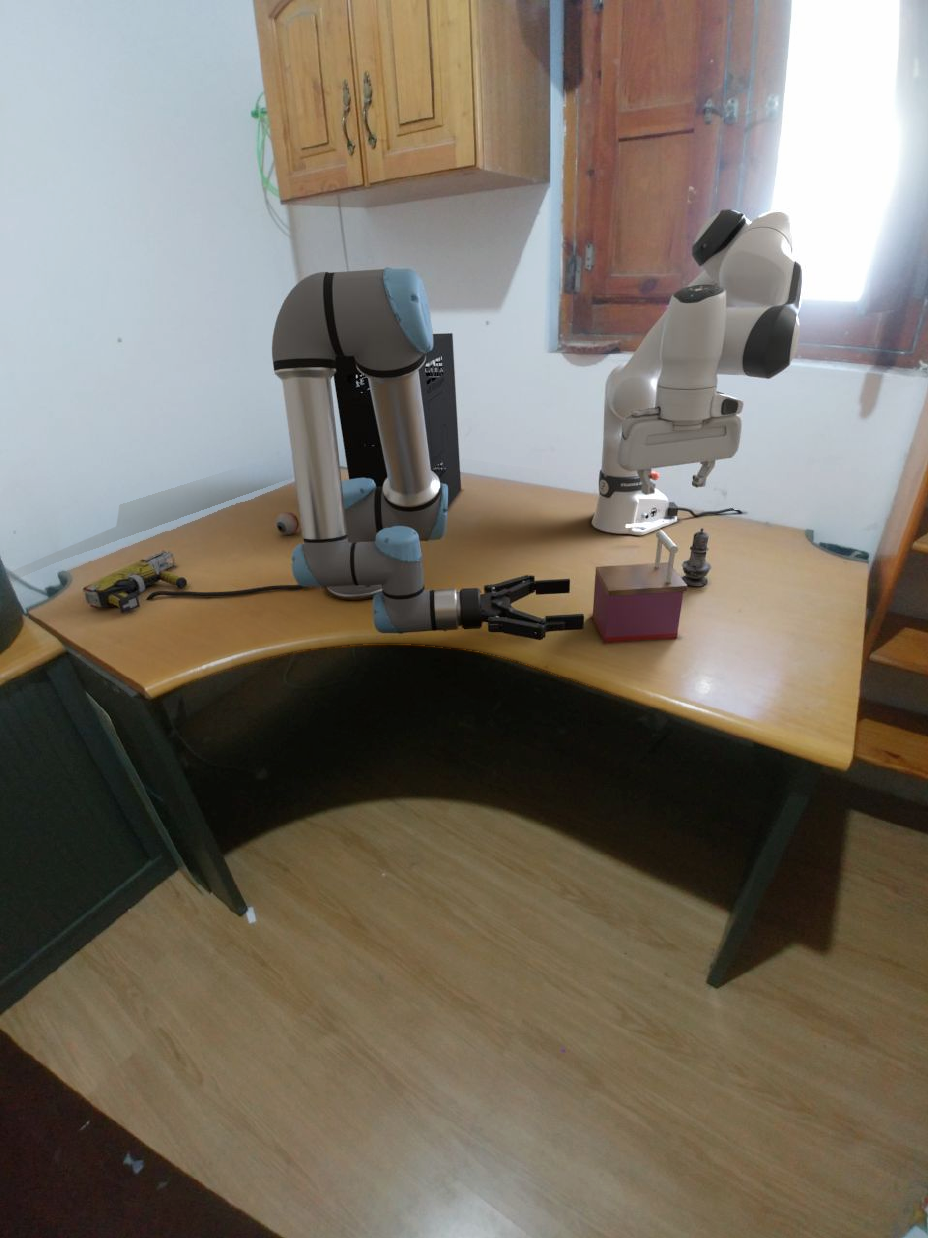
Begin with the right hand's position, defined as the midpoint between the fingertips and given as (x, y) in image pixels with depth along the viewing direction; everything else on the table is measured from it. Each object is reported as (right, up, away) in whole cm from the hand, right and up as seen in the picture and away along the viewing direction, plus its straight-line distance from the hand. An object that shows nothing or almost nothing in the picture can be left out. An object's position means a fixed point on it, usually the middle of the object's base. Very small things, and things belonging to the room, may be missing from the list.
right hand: (673, 489), depth 101 cm
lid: (-3, -15, +8) cm, 17 cm away
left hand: (-15, -19, +8) cm, 25 cm away
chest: (-3, -23, +13) cm, 27 cm away
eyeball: (-83, +1, +64) cm, 105 cm away
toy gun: (-107, -15, +38) cm, 115 cm away
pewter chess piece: (+14, -14, +28) cm, 34 cm away
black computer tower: (-50, +11, +76) cm, 92 cm away
